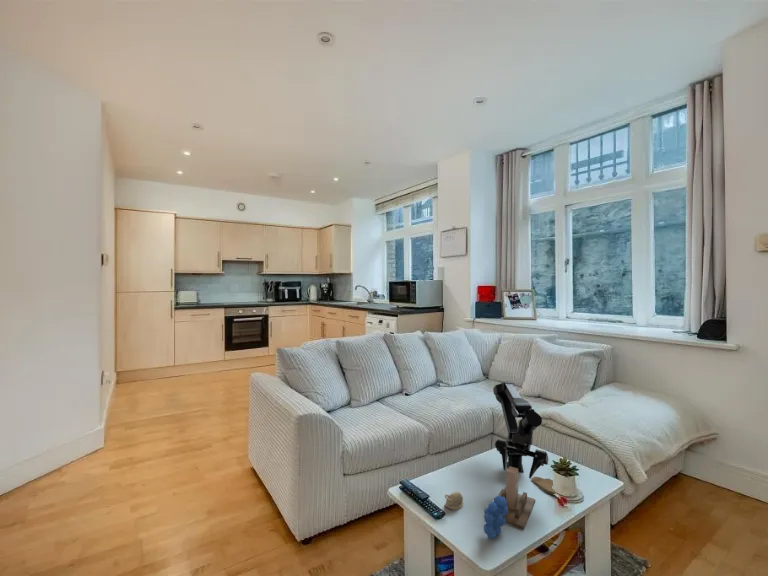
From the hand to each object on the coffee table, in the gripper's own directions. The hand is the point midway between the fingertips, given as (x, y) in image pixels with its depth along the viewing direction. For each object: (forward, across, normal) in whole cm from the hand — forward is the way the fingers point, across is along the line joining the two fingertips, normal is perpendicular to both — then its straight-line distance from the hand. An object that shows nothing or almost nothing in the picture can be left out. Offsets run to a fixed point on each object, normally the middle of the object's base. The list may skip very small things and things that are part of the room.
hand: (516, 474), depth 135 cm
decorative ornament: (+19, -17, -5) cm, 26 cm away
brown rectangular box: (+11, 0, +1) cm, 11 cm away
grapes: (+23, -1, -10) cm, 25 cm away
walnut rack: (+11, 0, +2) cm, 12 cm away
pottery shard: (-3, +9, +18) cm, 20 cm away
